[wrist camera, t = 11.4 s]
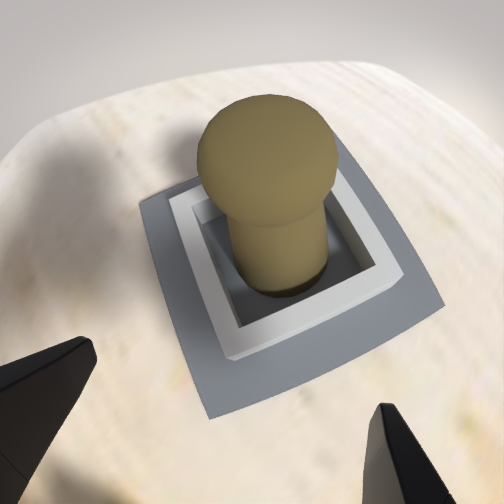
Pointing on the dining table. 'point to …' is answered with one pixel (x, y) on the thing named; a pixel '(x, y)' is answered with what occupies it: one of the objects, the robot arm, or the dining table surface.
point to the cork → (271, 189)
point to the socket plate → (289, 308)
